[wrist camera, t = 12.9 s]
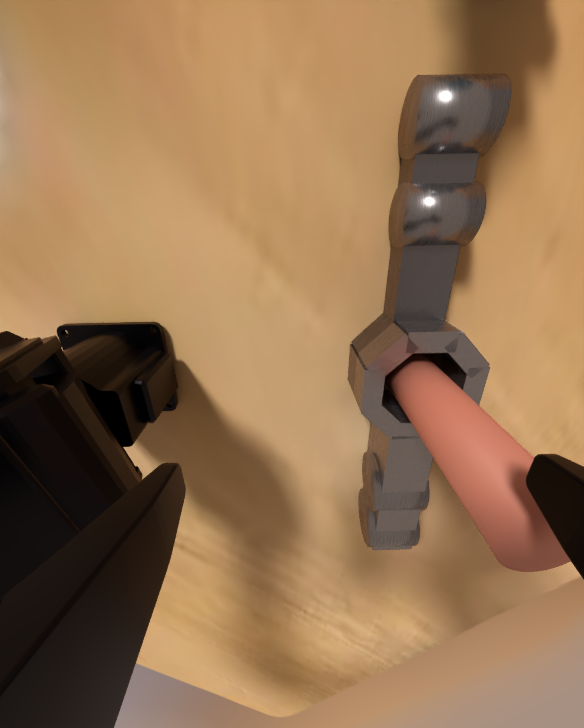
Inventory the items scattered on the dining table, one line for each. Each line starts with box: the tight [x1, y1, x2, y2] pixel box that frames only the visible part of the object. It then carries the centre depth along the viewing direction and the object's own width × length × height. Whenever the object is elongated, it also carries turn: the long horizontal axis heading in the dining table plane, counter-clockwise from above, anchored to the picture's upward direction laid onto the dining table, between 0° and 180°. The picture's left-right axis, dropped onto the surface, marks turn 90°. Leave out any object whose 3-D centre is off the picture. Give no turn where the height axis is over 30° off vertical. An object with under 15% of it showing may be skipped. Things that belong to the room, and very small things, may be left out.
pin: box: [385, 353, 571, 572], centre depth 15 cm, size 3×3×13 cm
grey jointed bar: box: [348, 74, 511, 550], centre depth 19 cm, size 7×30×4 cm, turn 1°
